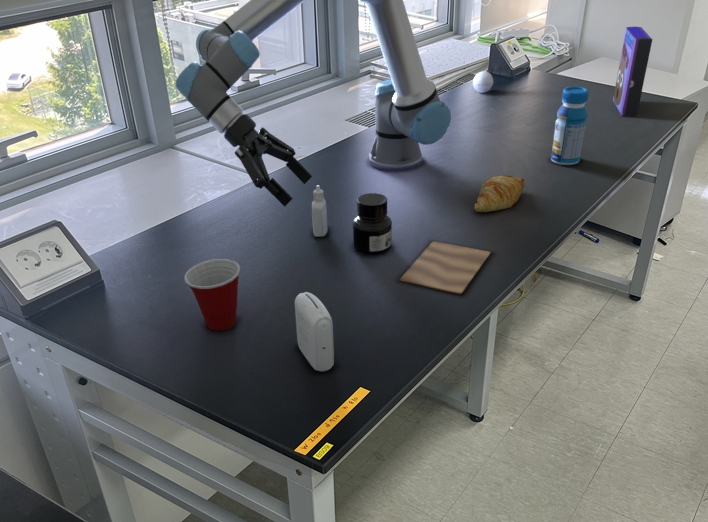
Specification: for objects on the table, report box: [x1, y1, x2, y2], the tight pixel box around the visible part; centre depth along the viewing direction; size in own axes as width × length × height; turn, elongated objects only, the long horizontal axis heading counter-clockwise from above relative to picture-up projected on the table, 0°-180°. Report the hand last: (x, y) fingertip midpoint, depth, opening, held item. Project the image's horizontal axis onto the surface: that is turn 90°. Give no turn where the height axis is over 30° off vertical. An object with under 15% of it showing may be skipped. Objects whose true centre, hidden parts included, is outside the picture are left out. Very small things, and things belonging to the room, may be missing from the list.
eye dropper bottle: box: [311, 184, 329, 238], centre depth 173 cm, size 4×6×12 cm
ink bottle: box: [352, 192, 393, 256], centre depth 166 cm, size 10×9×12 cm
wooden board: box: [398, 240, 492, 296], centre depth 160 cm, size 20×14×1 cm
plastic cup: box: [183, 258, 241, 332], centre depth 141 cm, size 11×11×12 cm
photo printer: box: [294, 291, 335, 372], centre depth 131 cm, size 10×4×12 cm, turn 24°
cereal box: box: [612, 26, 653, 118], centre depth 238 cm, size 17×5×24 cm, turn 172°
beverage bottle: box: [550, 86, 590, 166], centre depth 203 cm, size 8×8×20 cm
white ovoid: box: [472, 70, 494, 94], centre depth 263 cm, size 10×7×7 cm
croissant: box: [474, 174, 525, 213], centre depth 186 cm, size 21×10×8 cm, turn 139°
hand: (298, 191), depth 172 cm, fingers open, 13 cm apart
